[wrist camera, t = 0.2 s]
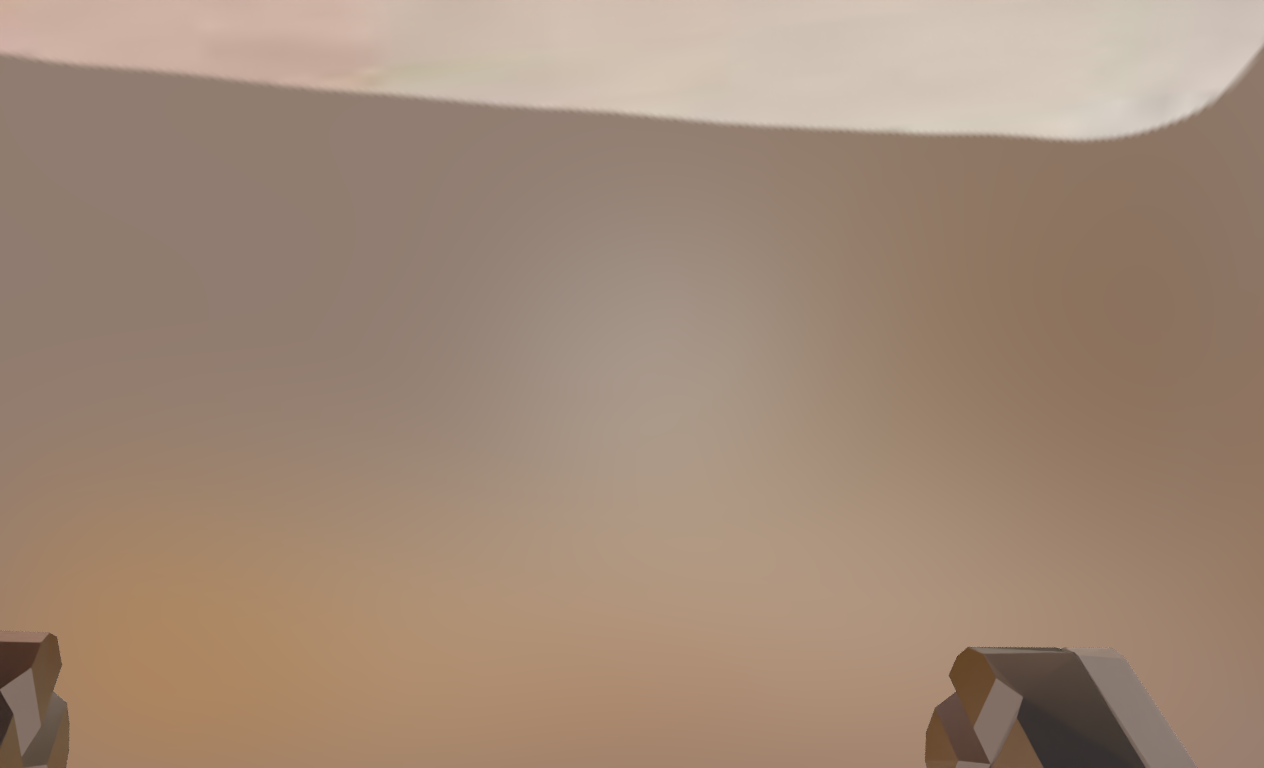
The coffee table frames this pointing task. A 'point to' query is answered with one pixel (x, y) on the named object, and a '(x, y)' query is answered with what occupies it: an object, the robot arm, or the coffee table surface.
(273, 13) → the coffee table surface
